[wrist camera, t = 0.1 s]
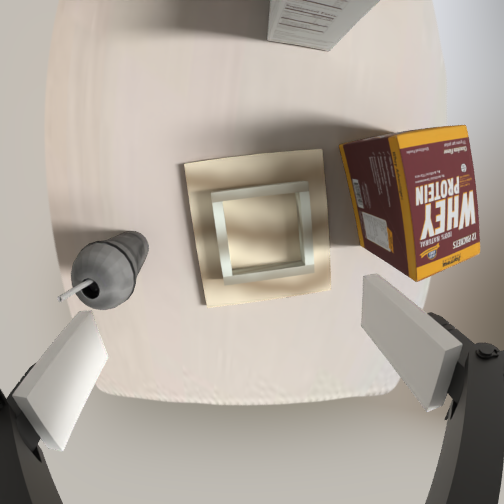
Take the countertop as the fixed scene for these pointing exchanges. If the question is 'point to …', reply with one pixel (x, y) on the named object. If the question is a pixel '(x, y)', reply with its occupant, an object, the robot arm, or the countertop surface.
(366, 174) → the supplement box
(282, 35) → the supplement box
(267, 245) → the cup holder
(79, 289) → the beverage cup
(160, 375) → the countertop surface
